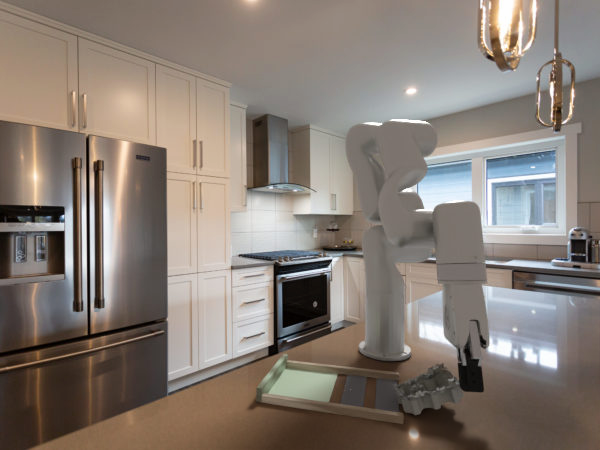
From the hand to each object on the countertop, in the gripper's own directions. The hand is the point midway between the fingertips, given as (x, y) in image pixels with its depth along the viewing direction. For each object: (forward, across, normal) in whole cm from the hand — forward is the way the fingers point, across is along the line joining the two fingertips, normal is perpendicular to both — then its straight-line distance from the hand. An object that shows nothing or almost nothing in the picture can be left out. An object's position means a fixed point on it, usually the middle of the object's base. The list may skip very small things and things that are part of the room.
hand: (471, 389), depth 52 cm
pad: (+3, -6, -29) cm, 30 cm away
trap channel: (+3, -6, -23) cm, 24 cm away
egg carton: (+3, -3, -6) cm, 7 cm away
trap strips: (+4, -6, -16) cm, 18 cm away
